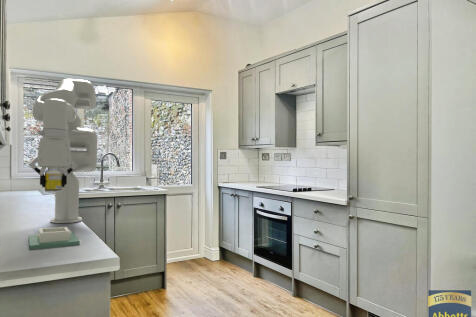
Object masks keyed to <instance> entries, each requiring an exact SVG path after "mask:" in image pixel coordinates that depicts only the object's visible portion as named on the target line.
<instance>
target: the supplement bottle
mask: <svg viewBox="0 0 476 317" xmlns="http://www.w3.org/2000/svg"><path fill="white" fill-rule="evenodd" d="M59 168H60V167H46V169H45V172H44V176H45V187H44V193H46V194H47V193H48V194H50V193H52V194H55V193H57V192H62V171H61V170H59Z"/></svg>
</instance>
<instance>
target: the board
mask: <svg viewBox="0 0 476 317" xmlns="http://www.w3.org/2000/svg"><path fill="white" fill-rule="evenodd" d="M28 246H29V250H38V249H40V250H41V249H49V248H58V247H72V246H80V240H79V238H78V237H77V235H76V233H74V231H71V230H69V228H68V227H67V226H58V227H45V228H38V234H34V235H28Z"/></svg>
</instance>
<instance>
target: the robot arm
mask: <svg viewBox="0 0 476 317" xmlns="http://www.w3.org/2000/svg"><path fill="white" fill-rule="evenodd" d="M96 106H97V96H96V89H95V87H94V84H93V83H92V82H91V81H88V80H84V79H74V78H64V79H62V80H60V81H58V83H57V86H56V88H55V90H52V91H49V92H46V93H43V94H41V95H39V96H38V97H37V98H36V99H35V101H34V103H33V106H32V110H31V111H32V117H33V119H34V120H35V121H37V122H38V123H42V129H41V130H37V135H40V136H42V137H40V138H39V142H38V148H37V157H35V158H34V159H33V160H32V161H31V162H30V163H29V164H28V167H30V168H31V169H33V171H35V172H36V173H37V175H39V185H40V186H41V187H42V188H45V171H46V170H47V167H60V168H59V170H61V171H62V192H57V193H54V217H53V218H50V222H51V223H53V224H72V223H73V224H74V223H78V222H81V221H83V218H82V217H81V216H79V207H80V206H79V205H80V204H79V202H80V180H79V178H78V177H77V176H76V175H75V174H74V173H80V172H82V173H87V172H88V173H89V172H90V173H91V172H94V171H95V170H96V168H97V164H98V134H97V132H96V130H94V129H92V128H82V119H81V117H80V116H79V115H78V114H77V109H80V110H82V109H83V110H93V109H94V108H95V107H96ZM36 164H37V165H36ZM37 166H39V167H41V169H39V167H37Z"/></svg>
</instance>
